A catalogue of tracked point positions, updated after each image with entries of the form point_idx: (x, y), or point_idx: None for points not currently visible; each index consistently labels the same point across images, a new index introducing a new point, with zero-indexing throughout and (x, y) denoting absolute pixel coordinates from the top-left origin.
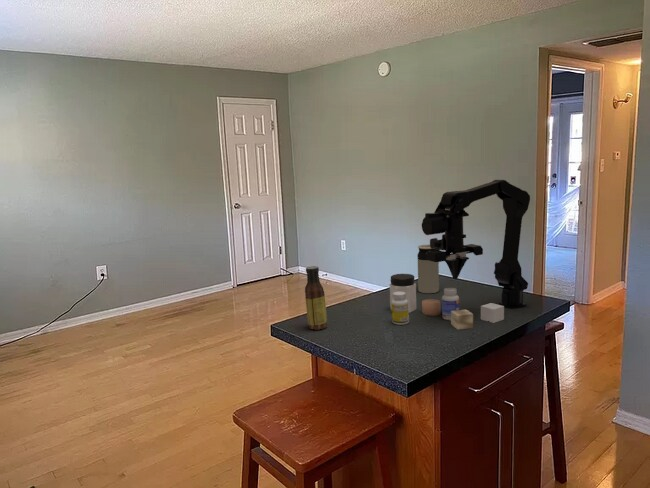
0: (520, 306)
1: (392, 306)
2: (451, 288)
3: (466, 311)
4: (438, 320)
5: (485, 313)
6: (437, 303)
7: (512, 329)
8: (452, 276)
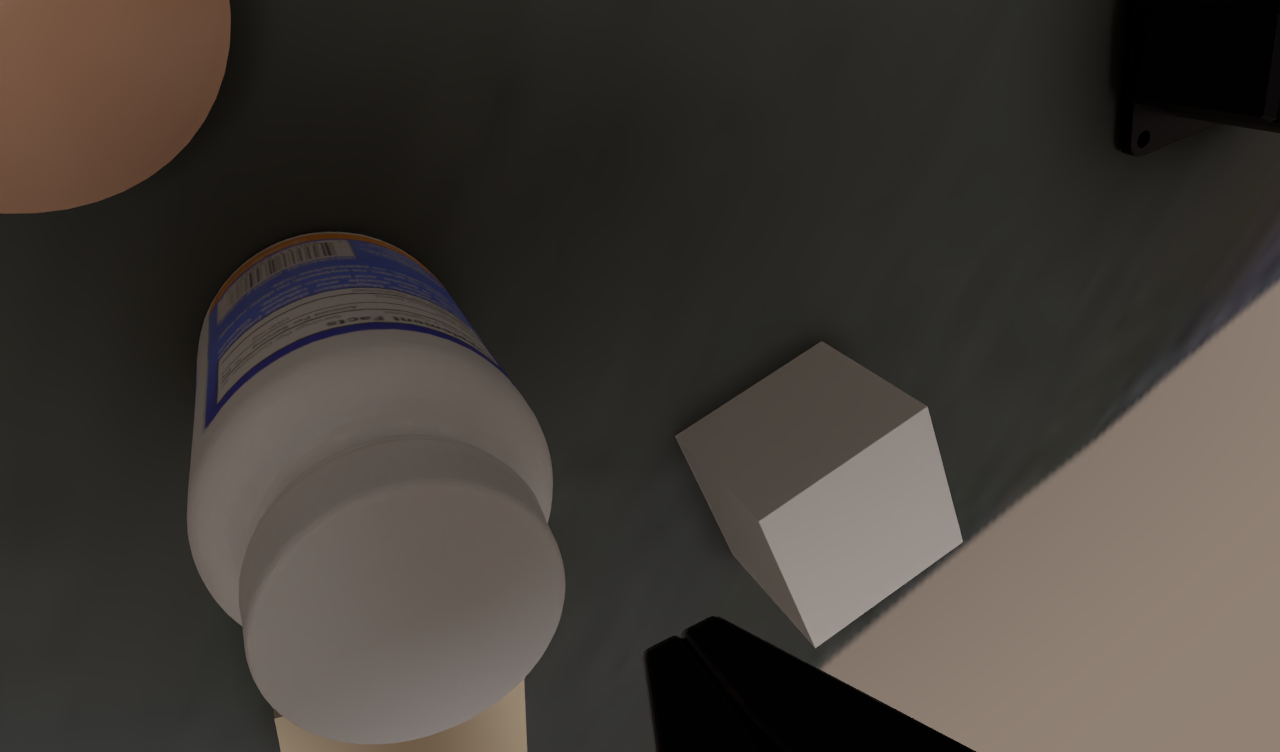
0: (1207, 122)
1: None
2: (469, 571)
3: (493, 728)
4: (103, 426)
5: (739, 527)
6: (130, 183)
7: None
8: (651, 707)
